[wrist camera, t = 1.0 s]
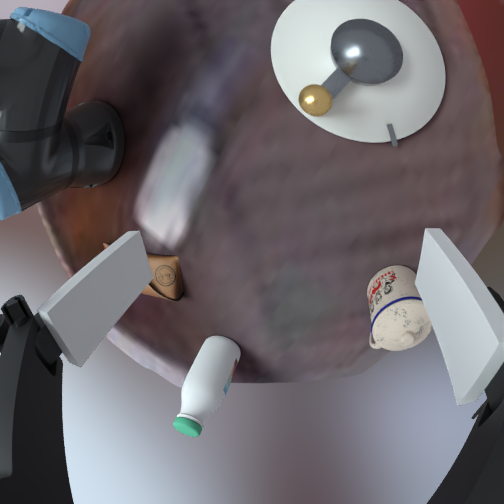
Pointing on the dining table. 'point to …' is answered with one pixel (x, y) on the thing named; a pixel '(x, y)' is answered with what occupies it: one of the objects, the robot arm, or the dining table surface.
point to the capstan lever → (355, 62)
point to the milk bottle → (207, 383)
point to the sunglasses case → (163, 277)
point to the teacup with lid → (396, 310)
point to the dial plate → (353, 95)
